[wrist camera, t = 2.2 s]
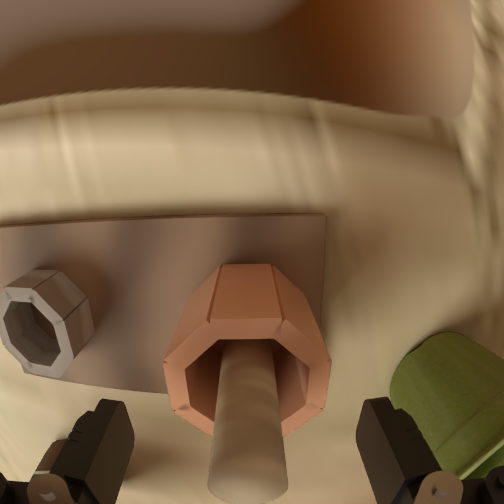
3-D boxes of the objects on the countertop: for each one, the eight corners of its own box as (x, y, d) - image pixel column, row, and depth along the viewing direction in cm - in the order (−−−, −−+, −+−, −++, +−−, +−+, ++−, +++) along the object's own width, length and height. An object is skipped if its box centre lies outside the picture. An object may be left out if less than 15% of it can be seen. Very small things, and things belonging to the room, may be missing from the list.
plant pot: (367, 447, 22) (405, 556, 11) (347, 337, 19) (419, 483, 8) (484, 392, 21) (547, 472, 10) (493, 276, 18) (605, 348, 7)
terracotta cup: (307, 263, 17) (337, 315, 11) (301, 363, 18) (319, 437, 12) (185, 264, 16) (155, 317, 11) (195, 365, 18) (178, 438, 12)
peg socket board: (322, 213, 17) (343, 228, 13) (310, 383, 20) (321, 425, 16) (-5, 226, 17) (-43, 240, 13) (30, 366, 20) (5, 394, 16)
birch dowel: (268, 304, 16) (291, 465, 7) (268, 341, 17) (285, 503, 7) (225, 305, 16) (203, 465, 7) (227, 342, 17) (211, 504, 7)
